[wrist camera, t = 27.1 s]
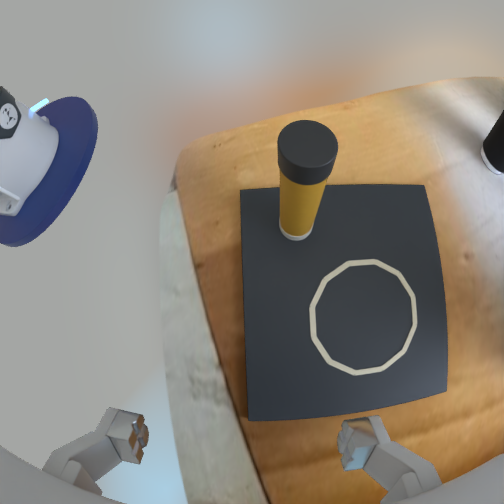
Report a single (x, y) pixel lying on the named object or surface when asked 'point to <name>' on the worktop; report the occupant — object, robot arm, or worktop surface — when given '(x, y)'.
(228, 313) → the worktop surface
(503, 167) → the dixie cup
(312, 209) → the marker
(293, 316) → the board
